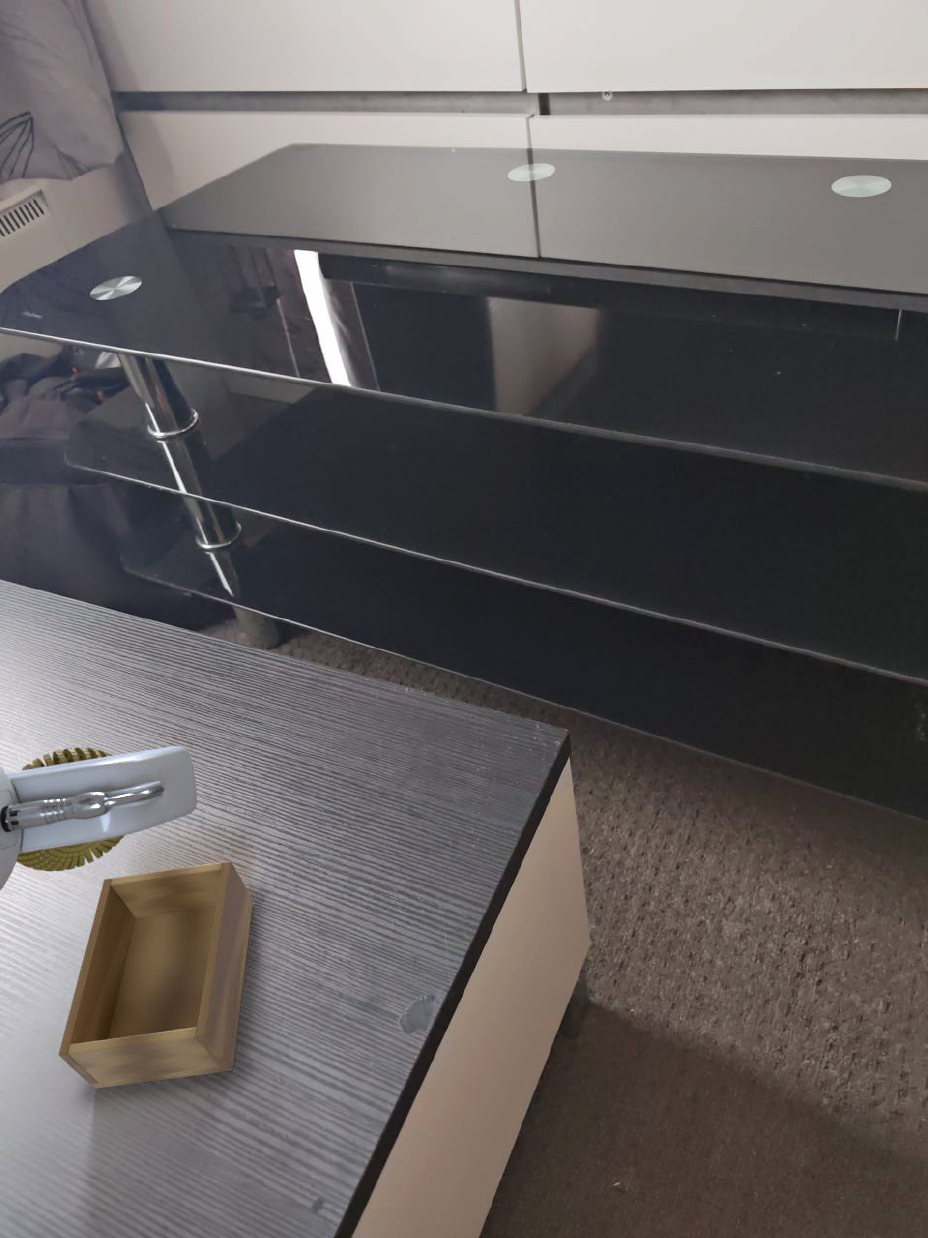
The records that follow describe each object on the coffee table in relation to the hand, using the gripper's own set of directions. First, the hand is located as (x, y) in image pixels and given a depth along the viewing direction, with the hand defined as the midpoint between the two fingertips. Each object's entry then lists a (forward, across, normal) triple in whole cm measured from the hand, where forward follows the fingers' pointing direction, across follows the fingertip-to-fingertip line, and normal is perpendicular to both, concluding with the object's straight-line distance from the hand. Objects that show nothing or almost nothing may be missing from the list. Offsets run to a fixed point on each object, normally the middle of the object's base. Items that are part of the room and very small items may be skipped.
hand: (63, 792), depth 54 cm
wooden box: (+10, -1, +15) cm, 18 cm away
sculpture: (+3, 0, +4) cm, 5 cm away
